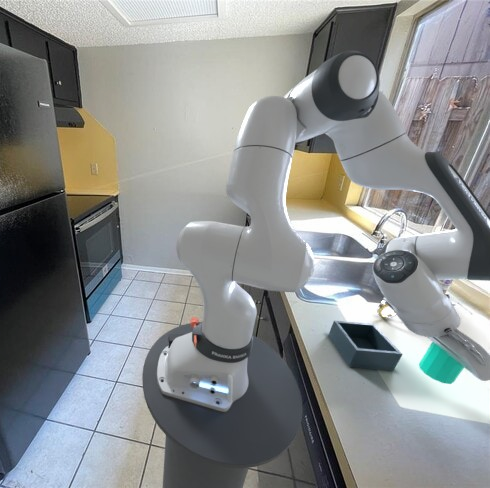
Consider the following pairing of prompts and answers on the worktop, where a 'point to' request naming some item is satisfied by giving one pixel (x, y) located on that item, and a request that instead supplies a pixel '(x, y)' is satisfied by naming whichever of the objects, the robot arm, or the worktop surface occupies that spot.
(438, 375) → the candle
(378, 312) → the ring
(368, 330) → the bin
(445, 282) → the sprinkles bottle
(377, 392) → the worktop surface
